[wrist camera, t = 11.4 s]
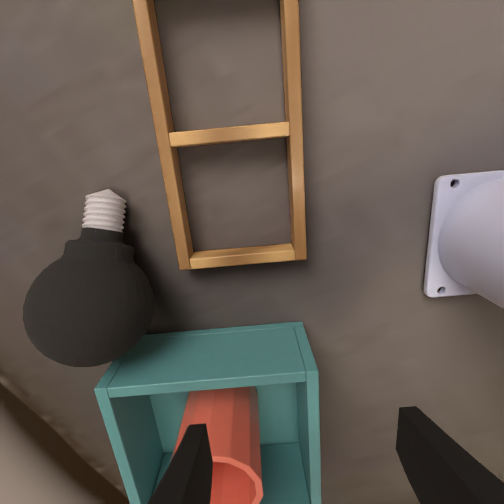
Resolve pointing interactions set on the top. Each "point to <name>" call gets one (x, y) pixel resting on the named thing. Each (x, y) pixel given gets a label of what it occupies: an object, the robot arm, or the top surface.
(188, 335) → the open storage box
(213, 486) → the cup
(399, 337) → the top surface
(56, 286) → the light bulb
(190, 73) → the top surface
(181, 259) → the frame
